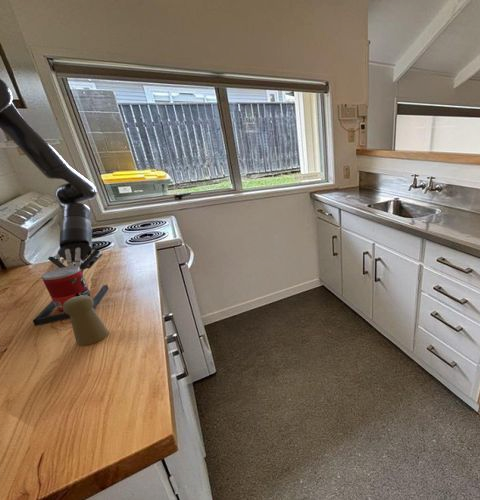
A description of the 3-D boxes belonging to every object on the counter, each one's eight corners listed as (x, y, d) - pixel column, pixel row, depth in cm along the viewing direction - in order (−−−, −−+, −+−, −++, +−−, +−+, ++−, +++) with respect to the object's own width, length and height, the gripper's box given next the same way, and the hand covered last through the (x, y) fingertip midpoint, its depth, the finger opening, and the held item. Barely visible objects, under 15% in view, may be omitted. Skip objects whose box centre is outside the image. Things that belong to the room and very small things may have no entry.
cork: (85, 348, 65) (67, 307, 61) (70, 342, 67) (51, 303, 63) (114, 332, 70) (98, 294, 66) (99, 327, 72) (83, 290, 68)
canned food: (88, 307, 82) (73, 273, 78) (52, 315, 79) (34, 280, 75) (97, 295, 88) (83, 263, 84) (64, 302, 85) (48, 269, 81)
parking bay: (34, 325, 74) (32, 320, 74) (61, 297, 88) (59, 293, 87) (92, 313, 79) (90, 308, 78) (108, 288, 93) (107, 284, 92)
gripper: (41, 230, 86) (38, 282, 80) (96, 224, 91) (97, 272, 85) (56, 241, 93) (55, 290, 87) (106, 235, 98) (108, 281, 92)
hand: (76, 281), depth 86 cm, fingers closed
